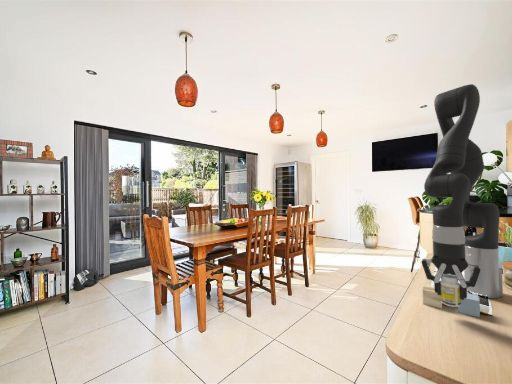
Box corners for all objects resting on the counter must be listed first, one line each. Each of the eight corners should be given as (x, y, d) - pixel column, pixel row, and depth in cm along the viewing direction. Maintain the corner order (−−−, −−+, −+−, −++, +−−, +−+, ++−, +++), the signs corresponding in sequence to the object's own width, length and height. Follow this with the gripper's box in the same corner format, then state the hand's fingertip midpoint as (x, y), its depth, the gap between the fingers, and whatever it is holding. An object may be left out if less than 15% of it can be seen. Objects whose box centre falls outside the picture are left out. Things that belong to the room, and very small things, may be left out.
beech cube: (424, 298, 83) (424, 284, 83) (442, 302, 79) (441, 288, 79) (423, 304, 79) (422, 289, 79) (441, 308, 76) (441, 293, 76)
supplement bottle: (453, 299, 72) (452, 272, 72) (465, 307, 68) (464, 278, 68) (436, 299, 73) (435, 273, 73) (447, 307, 68) (446, 279, 68)
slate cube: (457, 306, 77) (457, 291, 77) (478, 311, 74) (478, 295, 74) (457, 312, 73) (457, 296, 73) (479, 317, 70) (479, 301, 70)
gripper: (479, 240, 68) (481, 297, 69) (420, 235, 77) (422, 286, 78) (482, 245, 63) (484, 308, 63) (418, 240, 72) (420, 295, 72)
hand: (450, 296), depth 70 cm, fingers closed on supplement bottle, 4 cm apart
